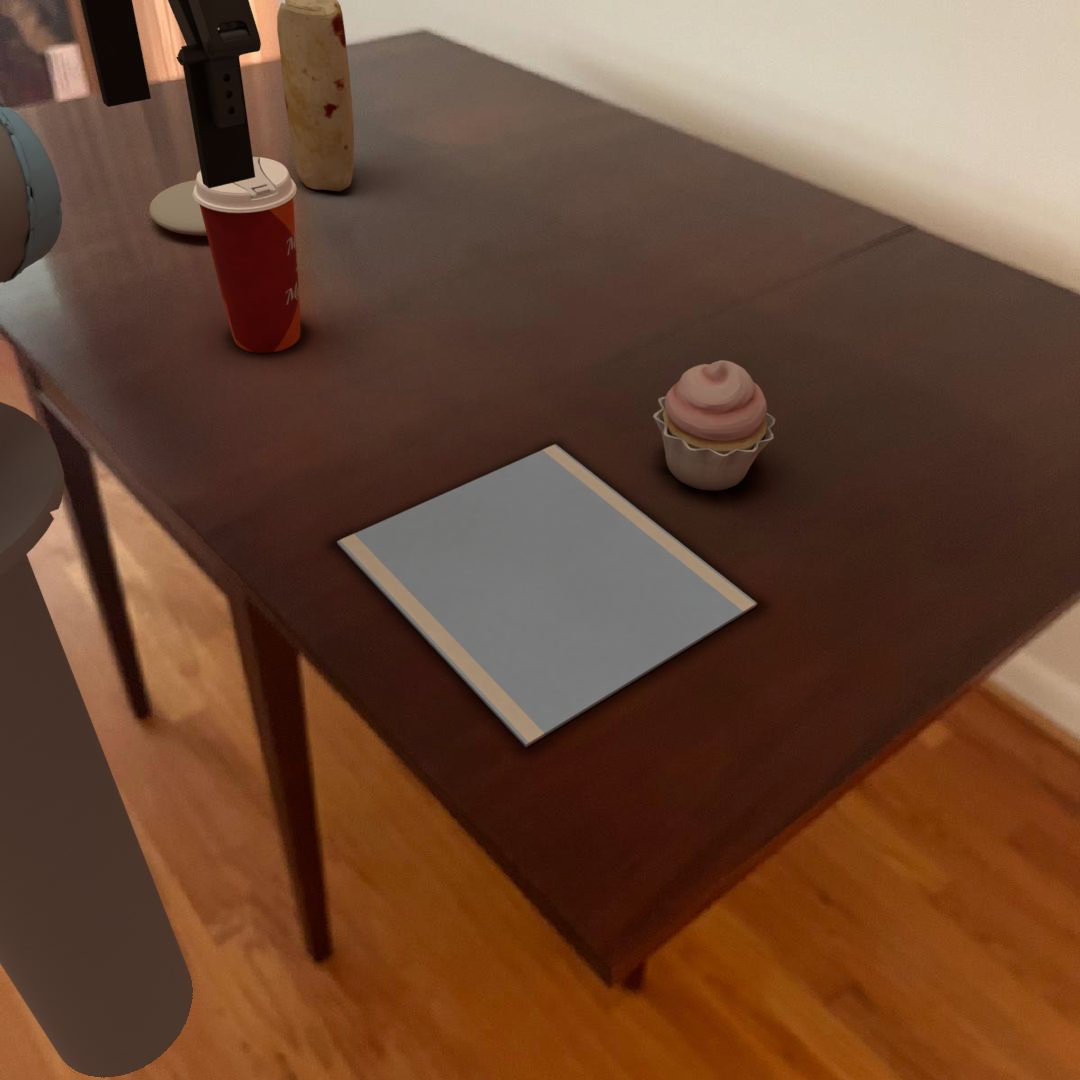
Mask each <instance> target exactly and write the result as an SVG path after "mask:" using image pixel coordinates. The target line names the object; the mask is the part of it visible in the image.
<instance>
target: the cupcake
mask: <svg viewBox="0 0 1080 1080" xmlns="http://www.w3.org/2000/svg"><path fill="white" fill-rule="evenodd" d="M658 405H659V407H660V409H659V410H658V411H657V412H655V413H654V414H653V416H652V418H653V419H654V422H655V424H656V425H657V427H658V429H659V431H660V434H661V437H662V442H663V447H664V455H665V462H666V465H667V469H668V470H669V472H670V473H671V475H672V476H673V477H674V478H675V479H677V481H679V482H680V483H682V484H684V485H686V486H688V487H691V488H694V489H697V490H701V491H710V492H711V491H723V490H727V489H731V488H732V487H734V486H737V485H738V484H739V483H740V482H742V480H744V478H745V477H746V475H747V473H748V472H749V470H750V468H751V466H752V464H753V463H754V462H755V460H756V458H757V456H758V455H759V453H760V452H761V451H762V450H763V449H764V448H765V447H766V446H767V445H768V444H769V443H770V442H771V441H772V440H774V433H773V432H772V430H771V429H772V428H773V426H774V425H775V423H776V418H775V417H774V416H772V415H771V414H769V413H768V405H767V399H766V398H765V395H764V393H763V391H762V389H761V388H760V386H759V385H758V384H757V383H755V382H754V380H753V378H752V376H751V375H750V374H749V373H748V371H747V370H746V369H745V368H744V367H742V366H740V365H738V364H737V363H735V362H732V361H729V360H718V361H717V360H716V361H715V362H714V361H713V362H712V363H710V364H708V363H704V364H699V365H694V366H693V367H690V368H688V370H686V371H685V372H683V373H682V375H681V377H680V379H679V380H678V381H677V382H676V383H675V384H674V385H672V386H671V388H670V389H669V390H668V391H667V392H666V395H665V396H661V397H659V398H658Z"/></svg>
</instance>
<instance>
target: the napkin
mask: <svg viewBox="0 0 1080 1080" xmlns="http://www.w3.org/2000/svg"><path fill="white" fill-rule="evenodd" d="M336 543H337V546H338V547H339V548H340V549H341V550H342V551H343V552H344V553H345V554H346V555H347V557H348V558H350V560H351V561H352V562H353V563H354V564H355V565H356V566H357V567H358V569H359V570H360V571H362V573H363V574H364V575H365V576H366V577H367V578H368V580H370V581H371V582H372V583H373V584H374V586H375V587H376V588H377V589H378V590H379V592H381V593H382V594H383V596H384V597H386V598H387V600H389V602H390V603H391V604H392V605H393V606H394V607H395V608H396V609H397V610H398V612H400V613H401V614H402V616H403V617H404V618H405V619H406V620H407V621H408V622H409V623H410V624H411V625H412V626H413V627H414V629H415V630H417V632H418V633H419V634H420V635H421V636H422V637H423V638H424V640H426V642H427V643H428V644H429V645H430V646H431V647H432V648H433V649H434V650H435V651H436V652H437V653H438V654H439V656H440V657H441V658H442V659H443V660H444V661H445V662H446V663H447V664H448V665H449V666H450V667H451V668H452V669H453V671H454V672H455V673H456V674H457V675H458V676H459V677H460V678H461V679H462V680H463V682H464V683H466V685H467V686H468V687H469V688H470V689H471V690H472V691H473V692H474V694H475V695H477V697H478V698H479V699H480V700H481V701H482V702H483V704H485V705H486V706H487V707H488V708H489V709H490V710H491V712H492V713H493V715H495V716H496V717H497V718H498V719H499V720H500V721H501V722H502V724H503V725H505V727H506V728H507V729H508V730H509V732H510V733H512V735H514V737H516V739H517V740H518V741H520V744H522V745H523V747H524V748H528V747H529V746H531V745H532V744H535V743H536V742H538V741H539V740H541V739H542V738H544V737H545V736H547V735H549V734H550V733H552V732H554V731H555V730H557V729H558V728H560V727H562V726H563V725H565V724H566V723H568V722H570V721H572V720H573V719H575V718H576V717H578V716H580V715H581V714H583V713H584V712H586V711H588V710H589V709H591V708H593V707H595V706H596V705H598V704H599V703H601V702H603V701H604V700H606V699H607V698H610V697H611V696H612V695H614V694H615V693H617V692H619V691H621V690H622V689H624V688H625V687H627V686H629V685H630V684H632V683H634V682H636V681H637V680H638V679H640V678H642V677H643V676H645V675H647V674H649V673H650V672H651V671H653V670H655V669H657V668H658V667H660V666H661V665H663V664H664V663H666V662H668V661H669V660H671V659H673V658H674V657H676V656H678V655H679V654H681V653H683V652H684V651H686V650H688V649H690V648H691V647H692V646H694V645H696V644H697V643H698V642H700V641H702V640H704V639H706V638H707V637H708V636H710V635H712V634H713V633H715V632H717V631H718V630H720V629H722V628H723V627H725V626H726V625H728V624H729V623H731V622H733V621H734V620H736V619H738V618H739V617H741V616H743V615H744V614H746V613H747V612H749V611H751V610H753V609H754V608H756V607H757V606H758V603H757V601H755V600H754V599H752V598H751V597H750V596H749V595H748V594H746V593H745V592H743V591H742V590H741V589H740V588H739V587H737V586H736V585H735V584H734V583H733V582H731V581H730V580H729V579H727V577H725V576H724V575H722V573H720V572H718V571H717V570H715V568H713V567H712V566H711V565H709V564H708V563H707V562H706V561H704V559H702V558H701V557H700V556H699V555H697V554H695V552H693V551H692V550H691V549H689V547H687V546H685V545H684V544H683V543H682V542H681V541H679V540H678V539H677V538H675V537H674V536H673V535H672V534H670V532H668V531H666V530H665V529H664V528H663V527H662V526H660V525H659V524H658V523H656V522H655V521H654V520H652V519H651V518H650V517H649V516H648V515H646V514H645V513H643V511H641V510H640V509H638V508H637V507H636V506H635V505H634V504H633V503H631V502H630V501H629V500H627V499H626V498H624V497H623V496H622V495H621V494H620V493H618V491H616V490H615V489H614V488H612V487H611V486H609V485H608V484H607V483H606V482H605V481H603V480H602V479H601V478H599V477H598V476H597V475H596V474H594V473H593V472H592V471H591V470H589V469H588V468H587V467H585V466H584V465H583V464H582V463H581V462H579V461H578V460H577V459H575V458H574V457H573V456H571V455H570V454H569V453H568V452H566V451H565V450H564V449H563V448H561V447H560V446H559V445H558V444H556V443H554V444H552V445H550V446H548V447H545V448H543V449H541V450H539V451H537V452H534V453H532V454H530V455H528V456H526V457H523V458H521V459H519V460H517V461H515V462H512V463H510V464H508V465H506V466H503V467H500V468H498V469H497V470H494V471H492V472H489V473H487V474H485V475H482V476H481V477H478V478H475V479H473V480H471V481H470V482H467V483H465V484H463V485H460V486H459V487H456V488H454V489H451V490H449V491H447V492H444V493H443V494H440V495H438V496H435V497H434V498H431V499H428V500H427V501H425V502H422V503H420V504H417V505H416V506H413V507H411V508H409V509H406V510H404V511H402V512H400V513H398V514H395V515H393V516H391V517H388V518H386V519H384V520H382V521H379V522H378V523H375V524H373V525H371V526H368V527H365V528H364V529H362V530H359V531H357V532H354V533H352V534H349V535H348V536H345V537H343V538H341V539H339V540H337V541H336Z"/></svg>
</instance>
